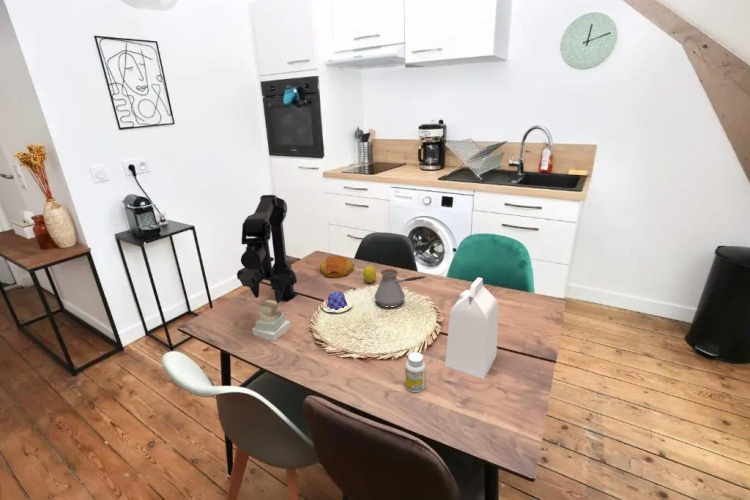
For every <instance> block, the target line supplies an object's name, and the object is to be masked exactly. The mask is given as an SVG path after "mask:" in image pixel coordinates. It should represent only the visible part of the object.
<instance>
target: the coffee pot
mask: <svg viewBox="0 0 750 500" xmlns="http://www.w3.org/2000/svg"><path fill="white" fill-rule="evenodd" d="M398 274H399V272H398V270H396V269H393V268H387V269H386V268H385V269H383V270H381V271H380V275H381V276H382V277H381V281H380V283H379V285H378V287H377V290H376V292H375V295H374V299H375V301H376V302H377V303H378V305H380V306H382V305H383V306H382V307H384V306H388V307H391V306H396V305H398V306H399V305H400V304H402V302H404V300H405V297H406V296H405V292H404V291H403V288H402V287H401V284H400V283H402V282H412V281H417V280H421V279H422V281H423V282H424V283H426V282H427V281H428V278H427V276H425V275H421V276H420V275H419V276H413V277H408V278H402V279H398V278H397V275H398ZM425 278H426V281H425V280H424V279H425ZM388 307H387V308H388ZM396 307H397V306H396ZM391 308H392V307H391Z"/></svg>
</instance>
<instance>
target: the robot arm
mask: <svg viewBox="0 0 750 500" xmlns="http://www.w3.org/2000/svg"><path fill="white" fill-rule="evenodd" d="M287 213H288V204H287V202H286V201H285V199H282V198H280V197H278V196H277V195H274V194H262V195H261V196H260V198H259V203H258V205H257V207H256V209H255V211H254V212H253V213H252V214H250V215H248V216H247V217H246V218H245V219H244V221H243V223H242V227H241V228H242V230H241V245H246V247H245V251H243V253H242V254H241V258H240V262H241V265H242V266H243V268H240V269H238V270H237V273H236V278H237V280H239V281H240V283H241V285H242V286H243V287H247V288H249V289H250V290H251V293H252V294H253V296H254V298H256V299H258V298H259V296H260V284H261V283H262V282H263V281H268V282H270V286H271V287H270V290H272V291H273V293H274V299H275V302H277V303H281V301H284V302H289V301H290V300H292V299H294V297H296V296H298V293H296V292H295V289H294V285H296V284H298V281H297V280H298V279H297V274H296V273H295V271H294V270H293V266H292V264H291V263H290V261H289V260H288V259H287V251H286V240H285V233H284V221H285V219H286V217H287ZM270 240H271V241H272V248H273V249H272V250H273V251H272V252H273V257H272V256H271V252H270V244H269V242H270ZM272 262H274V263H273V264H272Z"/></svg>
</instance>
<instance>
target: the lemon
mask: <svg viewBox="0 0 750 500" xmlns="http://www.w3.org/2000/svg"><path fill="white" fill-rule="evenodd" d="M362 274H363V276H362V277H363V279H364V280H365V281H366V282H367V283H372V282H373V281H375V280H376V278H377V272H376V268H375V267H374V266H372V265H367V266H365V268H364V269H363V273H362Z"/></svg>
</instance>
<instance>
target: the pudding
mask: <svg viewBox="0 0 750 500" xmlns="http://www.w3.org/2000/svg"><path fill="white" fill-rule="evenodd" d="M345 298H346V297H345V294H344V292H340V291H333V292H331V293H330V294H328V297H327V300H325V301H324V302H323V303H322V304H324V303H325V302H326V301H328V302H327V306H326V308H327V307H329V308H330V309H335V310H338V309H340V308H344V307H345V306H347V305H348V304H347V302H346V299H347V298H346V299H345Z"/></svg>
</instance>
